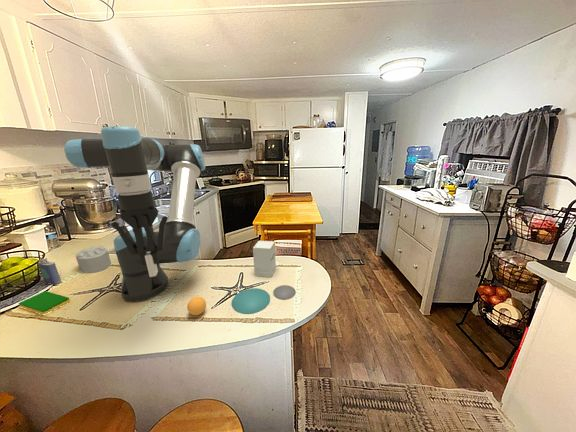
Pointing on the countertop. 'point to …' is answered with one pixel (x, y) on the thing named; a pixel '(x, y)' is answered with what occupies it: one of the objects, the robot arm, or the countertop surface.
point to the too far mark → (284, 292)
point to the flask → (49, 271)
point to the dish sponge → (44, 302)
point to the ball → (196, 305)
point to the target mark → (250, 301)
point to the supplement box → (264, 258)
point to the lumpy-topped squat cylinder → (93, 259)
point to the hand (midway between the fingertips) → (153, 274)
